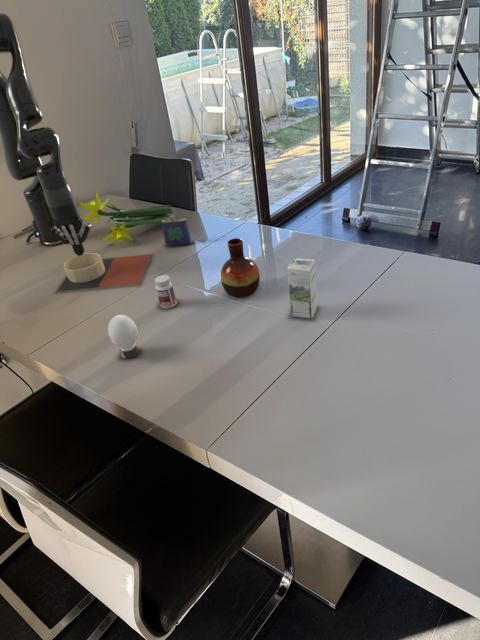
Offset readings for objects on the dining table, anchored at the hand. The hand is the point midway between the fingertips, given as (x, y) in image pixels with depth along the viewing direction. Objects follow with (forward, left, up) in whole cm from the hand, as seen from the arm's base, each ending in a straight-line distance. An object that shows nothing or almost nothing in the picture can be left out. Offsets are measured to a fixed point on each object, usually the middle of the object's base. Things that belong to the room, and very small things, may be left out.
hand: (80, 254), depth 151 cm
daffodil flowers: (+10, +30, -8) cm, 33 cm away
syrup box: (+69, -33, -8) cm, 77 cm away
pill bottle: (+31, -23, -8) cm, 39 cm away
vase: (+52, -19, -8) cm, 56 cm away
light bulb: (+25, -45, -8) cm, 52 cm away
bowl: (0, 0, -7) cm, 7 cm away
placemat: (+6, 0, -7) cm, 10 cm away
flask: (+28, +17, -8) cm, 33 cm away
